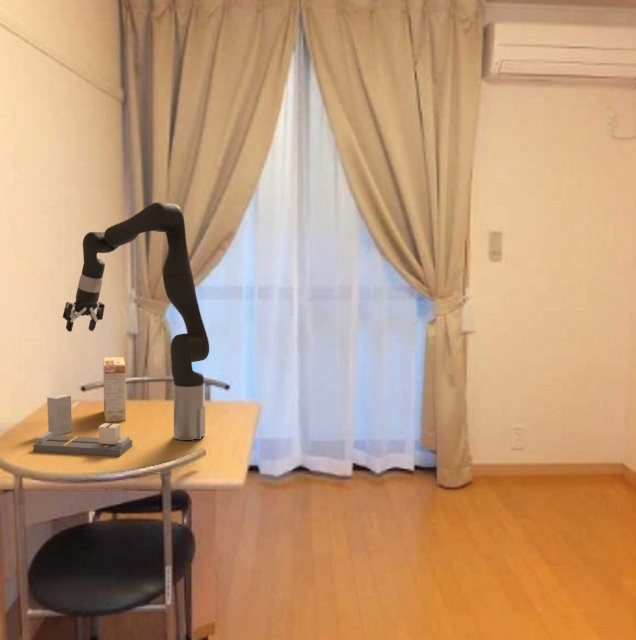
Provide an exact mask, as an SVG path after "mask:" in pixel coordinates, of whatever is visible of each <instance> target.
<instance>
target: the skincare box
mask: <svg viewBox="0 0 636 640" xmlns="http://www.w3.org/2000/svg"><path fill="white" fill-rule="evenodd" d="M71 397H72V395H70V394H67V393H66V394H65V393H60V394H56V395H52V396H51V395H50V396H48V397H46V401H47V403H46V405H47V424H48V425H47V427H48V428H47V429H48V431H47V432H52V435H59V436H63V435H64V434H67V433H71V432H73V423H72V398H71Z"/></svg>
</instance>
